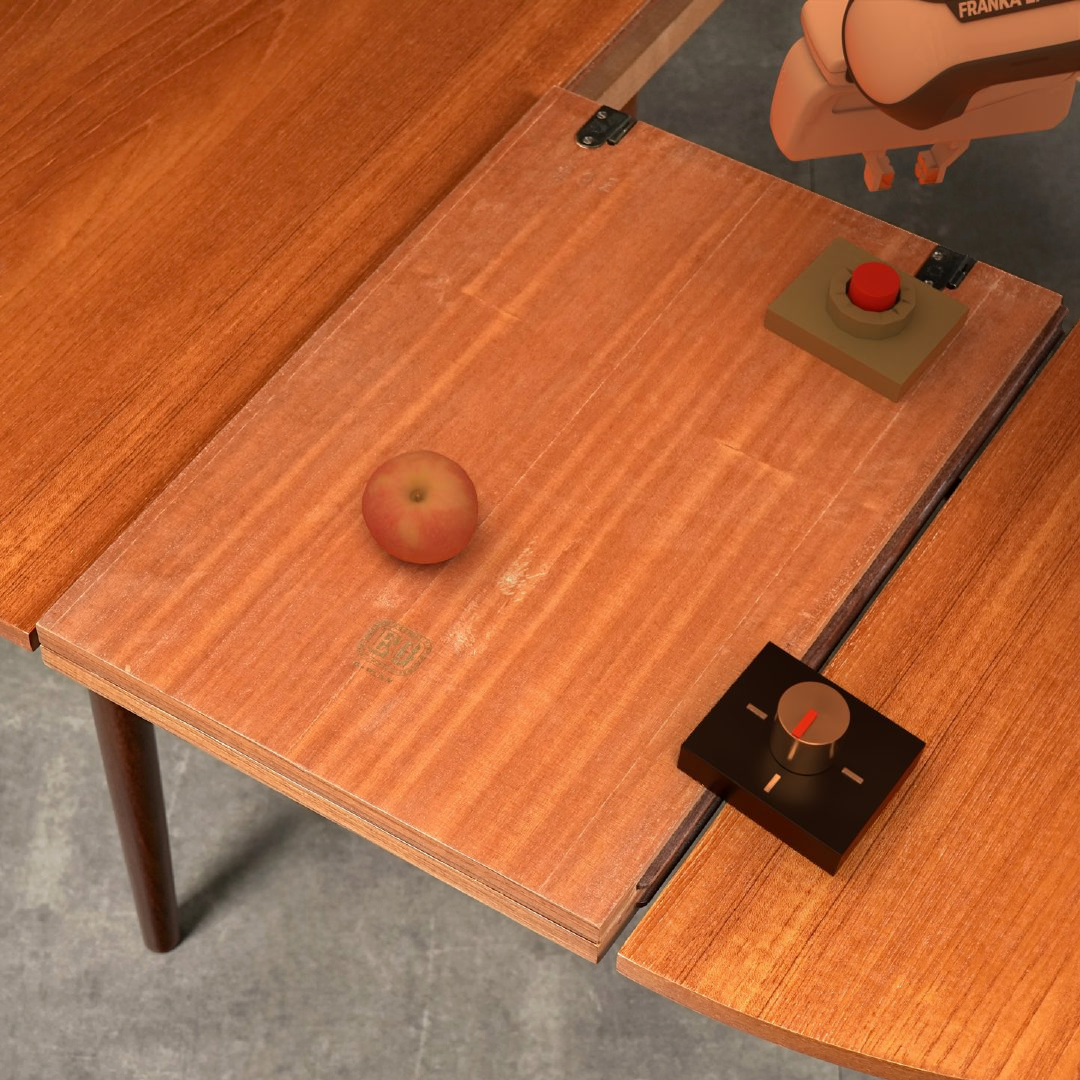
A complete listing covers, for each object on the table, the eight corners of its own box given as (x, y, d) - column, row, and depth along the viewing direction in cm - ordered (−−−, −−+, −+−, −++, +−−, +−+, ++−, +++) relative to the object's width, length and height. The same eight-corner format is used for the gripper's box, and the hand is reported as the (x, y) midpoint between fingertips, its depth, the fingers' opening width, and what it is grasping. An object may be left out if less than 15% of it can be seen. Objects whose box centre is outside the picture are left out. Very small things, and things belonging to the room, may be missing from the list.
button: (905, 292, 128) (909, 276, 127) (879, 319, 127) (884, 303, 125) (864, 270, 130) (868, 254, 128) (839, 297, 128) (843, 281, 127)
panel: (917, 764, 110) (927, 741, 107) (833, 877, 105) (841, 855, 102) (763, 663, 114) (769, 638, 111) (676, 767, 109) (680, 744, 106)
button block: (963, 327, 131) (975, 291, 128) (896, 403, 127) (906, 368, 124) (833, 255, 136) (841, 218, 132) (763, 327, 131) (770, 291, 128)
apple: (347, 563, 118) (338, 495, 111) (397, 484, 122) (392, 413, 115) (450, 605, 116) (447, 538, 109) (497, 522, 120) (498, 453, 113)
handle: (793, 700, 109) (803, 666, 105) (852, 738, 107) (864, 705, 104) (755, 748, 107) (764, 715, 103) (815, 788, 105) (826, 755, 102)
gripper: (1080, -30, 111) (1025, 133, 122) (779, 4, 108) (751, 167, 119) (1118, 32, 107) (1058, 194, 118) (807, 68, 104) (776, 231, 116)
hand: (902, 181), depth 119 cm, fingers closed
